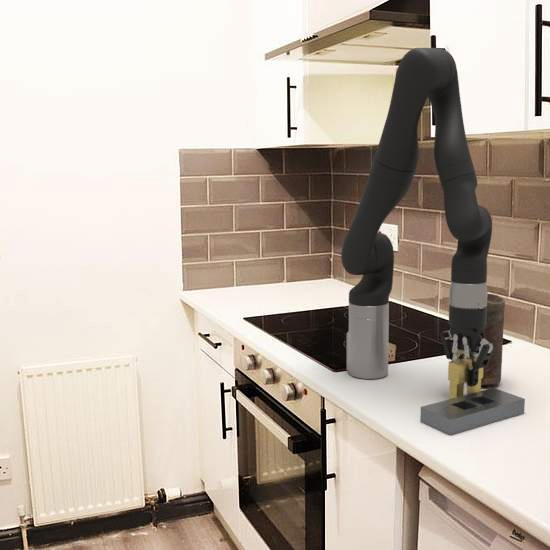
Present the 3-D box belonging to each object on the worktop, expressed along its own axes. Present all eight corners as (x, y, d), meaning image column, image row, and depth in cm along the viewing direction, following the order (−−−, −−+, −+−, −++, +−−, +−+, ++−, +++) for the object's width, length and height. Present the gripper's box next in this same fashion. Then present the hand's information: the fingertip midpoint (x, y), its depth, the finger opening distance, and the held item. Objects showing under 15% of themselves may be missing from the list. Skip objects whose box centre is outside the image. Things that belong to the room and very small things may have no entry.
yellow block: (447, 400, 146) (448, 361, 145) (471, 394, 150) (472, 356, 148) (458, 404, 144) (459, 365, 142) (482, 398, 147) (483, 359, 146)
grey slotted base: (420, 421, 136) (420, 406, 135) (492, 401, 146) (493, 387, 145) (450, 435, 129) (450, 419, 128) (524, 413, 139) (524, 398, 138)
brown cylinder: (495, 377, 160) (498, 292, 157) (506, 388, 153) (510, 299, 150) (462, 378, 160) (464, 293, 157) (472, 389, 153) (475, 300, 149)
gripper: (430, 299, 147) (428, 377, 150) (480, 311, 135) (478, 396, 138) (456, 295, 151) (454, 371, 154) (507, 306, 139) (504, 389, 142)
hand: (465, 383), depth 146 cm, fingers closed on yellow block, 3 cm apart
